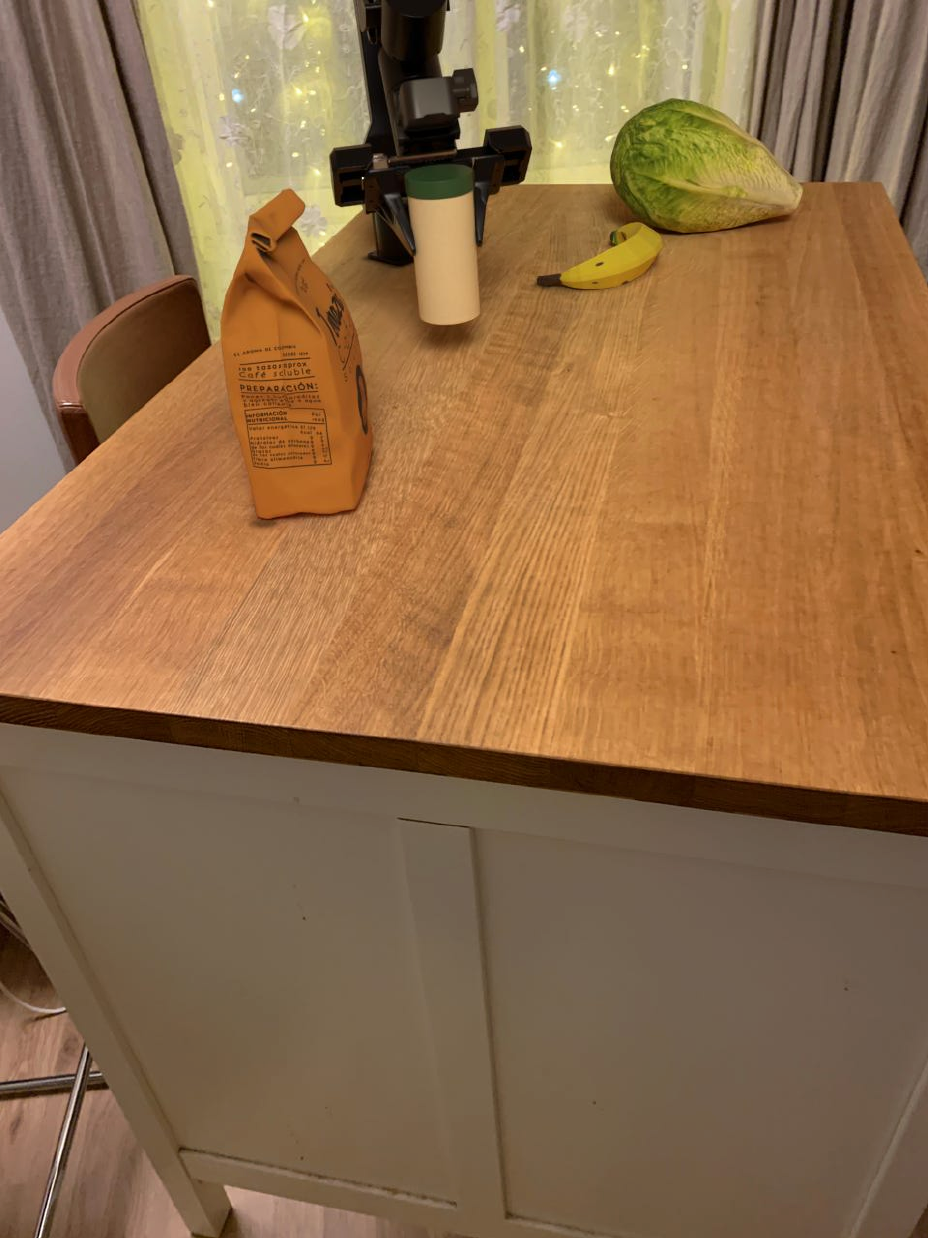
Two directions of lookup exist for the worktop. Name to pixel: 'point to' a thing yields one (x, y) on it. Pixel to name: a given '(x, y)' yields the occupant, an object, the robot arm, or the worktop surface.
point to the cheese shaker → (444, 242)
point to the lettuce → (697, 170)
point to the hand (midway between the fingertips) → (446, 249)
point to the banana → (613, 261)
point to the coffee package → (294, 373)
